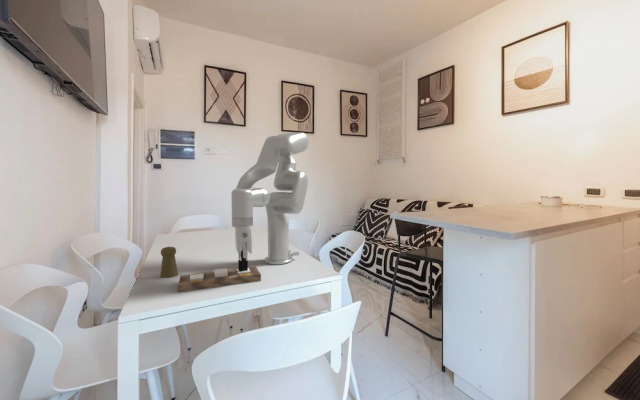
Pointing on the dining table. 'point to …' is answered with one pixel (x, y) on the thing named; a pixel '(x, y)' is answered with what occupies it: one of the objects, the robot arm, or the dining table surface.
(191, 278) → the outer button
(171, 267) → the cork
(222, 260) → the dining table surface
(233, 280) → the button board
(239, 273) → the inner button
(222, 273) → the middle button
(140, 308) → the dining table surface
